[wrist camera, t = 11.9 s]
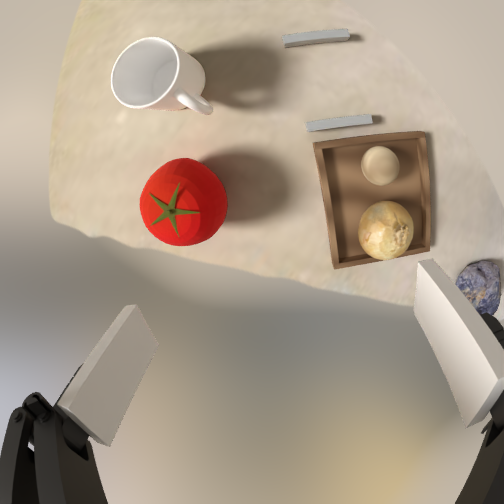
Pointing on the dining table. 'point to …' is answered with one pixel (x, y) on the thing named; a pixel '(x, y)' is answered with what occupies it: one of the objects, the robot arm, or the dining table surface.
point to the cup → (159, 77)
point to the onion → (385, 230)
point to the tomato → (183, 203)
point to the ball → (380, 165)
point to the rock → (481, 286)
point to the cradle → (322, 38)
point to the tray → (372, 191)
